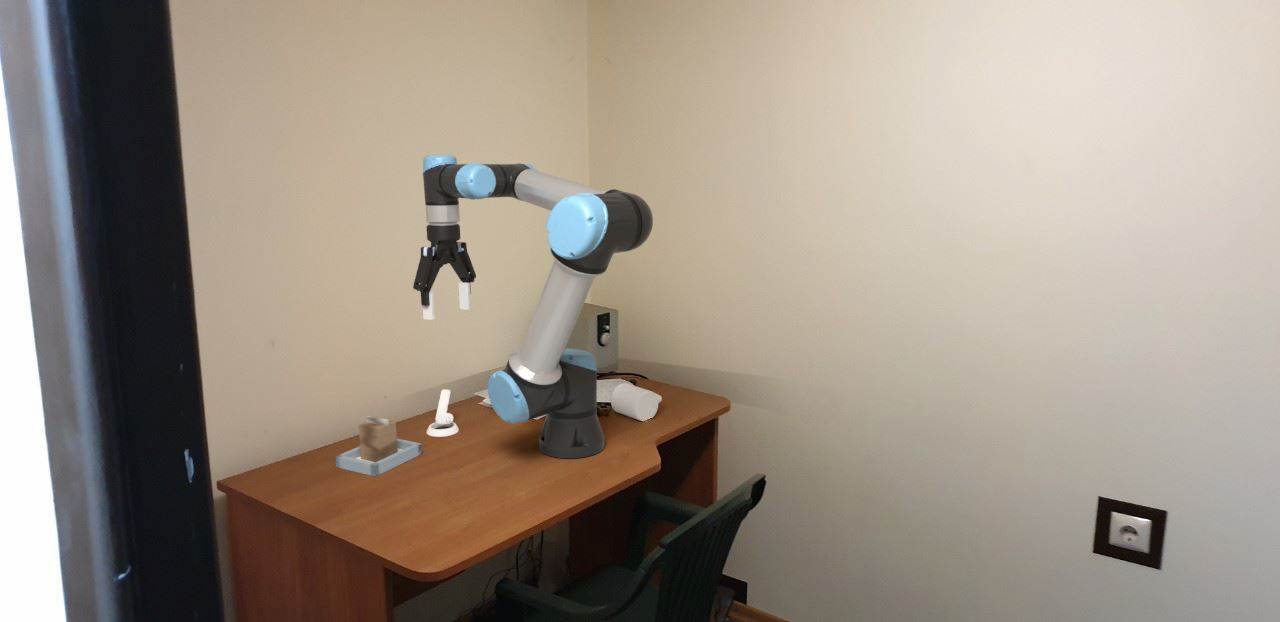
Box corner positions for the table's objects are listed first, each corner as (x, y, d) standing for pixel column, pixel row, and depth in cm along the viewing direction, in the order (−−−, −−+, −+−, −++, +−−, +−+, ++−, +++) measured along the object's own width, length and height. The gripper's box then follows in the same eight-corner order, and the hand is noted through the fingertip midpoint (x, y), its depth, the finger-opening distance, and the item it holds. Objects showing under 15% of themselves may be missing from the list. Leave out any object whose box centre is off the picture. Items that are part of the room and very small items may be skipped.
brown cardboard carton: (397, 456, 172) (395, 416, 170) (381, 463, 167) (378, 423, 166) (377, 451, 174) (375, 412, 173) (360, 459, 170) (358, 419, 168)
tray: (422, 453, 175) (421, 443, 174) (375, 476, 162) (374, 465, 162) (384, 445, 180) (383, 435, 179) (335, 467, 167) (335, 456, 167)
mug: (636, 424, 195) (636, 394, 193) (610, 415, 202) (610, 386, 200) (669, 414, 203) (670, 385, 201) (644, 405, 210) (644, 377, 208)
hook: (463, 400, 197) (465, 391, 191) (455, 445, 192) (457, 438, 186) (433, 395, 196) (435, 387, 189) (424, 441, 190) (426, 434, 184)
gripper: (462, 219, 190) (466, 304, 194) (392, 227, 168) (399, 322, 172) (488, 220, 187) (491, 306, 191) (420, 228, 165) (426, 325, 169)
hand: (447, 314), depth 181 cm, fingers open, 13 cm apart
